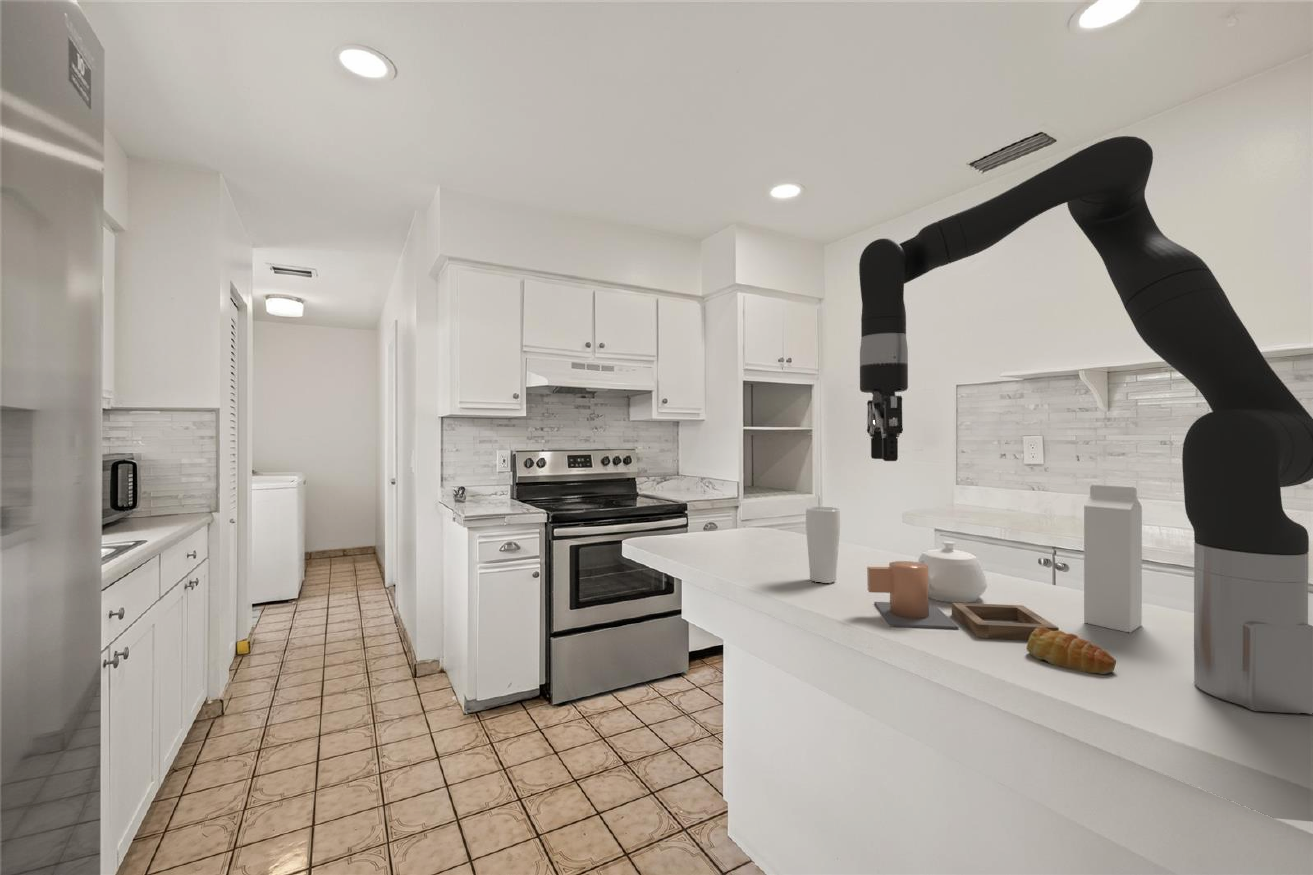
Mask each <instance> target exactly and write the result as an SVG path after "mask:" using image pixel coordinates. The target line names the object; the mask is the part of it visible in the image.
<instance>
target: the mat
mask: <svg viewBox="0 0 1313 875" xmlns="http://www.w3.org/2000/svg"><path fill="white" fill-rule="evenodd" d="M874 605H875V607H876V606H877V607H876V609H877V610H878V611H879V610H880V611H879V612H880V613H881V615H882V614H883V615H882V616H883V618H884V619H885V618H886V619H885V620H886V621H888V622H887V623H888V624H889V625H891V626H890V627H895V626H896V627H898V628H899V627H901V628H917V627H919V628H920V629H923V628H924V629H940V630H941V629H944V630H959V629H960V628H959V627H960V626H958V625H957V623H955V622H954V621H953V620H952V619H951V618H950V617H948V616H947V615H946V614H945V613H944V612H943V611H942V610H941V609H940V608H939V607H938V606H937V605H935V604H934V603H929V616H928V617H926V618H919V619H913V618H904V617H900V616H896V615H894V614H892V613H891V612H890V601H888V602H887V601H874ZM896 627H895V628H896ZM919 628H918V629H919Z"/></svg>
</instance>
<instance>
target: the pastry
mask: <svg viewBox="0 0 1313 875" xmlns="http://www.w3.org/2000/svg"><path fill="white" fill-rule="evenodd" d="M1026 651H1027V652H1028V653H1029V654H1030V655H1031V656H1033V658H1035V659H1037V660H1039V661H1041V660H1043V661H1044V660H1045V661H1047V662H1048V663H1049V664H1051V665H1055V666H1057V667H1064V668H1066V669H1069V670H1075V671H1077V672H1083V673H1088V674H1093V673H1094V674H1100V675H1105V674H1106V675H1107V674H1109V673H1111V672H1113V671H1115V666H1116V664H1117V660H1116V659H1115V658H1114V657H1113V656H1112V655H1111V654H1110V653H1109V652H1107V651H1105V650H1104V649H1102V648H1101V647H1099V646H1097V645H1095V644H1092V643H1091V641H1087V640H1085V639H1083V638H1080V637H1078V635H1076V634H1073V633H1066V632H1064V631H1062V630H1060V629H1059V630H1058V631H1051V630H1049V629H1048V628H1045V627H1037V628H1035V630H1034V631H1033V632H1032V633H1031V635H1030V637H1029V640H1027V644H1026Z"/></svg>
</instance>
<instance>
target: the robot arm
mask: <svg viewBox="0 0 1313 875" xmlns="http://www.w3.org/2000/svg"><path fill="white" fill-rule="evenodd" d="M1153 160H1154V152H1153V149H1152V147H1151V145H1150V144H1149V143H1148V142H1147V141H1146V140H1144V139H1142V138H1141V137H1137V136H1132V135H1117V136H1113V137H1107V138H1104V139H1102V140H1100V141H1097V142H1095V143H1092V144H1091V145H1089V146H1087V147H1085V148H1082V149H1081V150H1078V151H1077V152H1075V153H1073V154H1072V155H1069V156H1067V157H1066V158H1064V159H1062V160H1061V161H1059V162H1057V163H1055V164H1054V165H1052V166H1049V167H1048V168H1047V169H1044V170H1043V171H1041V172H1039V173H1037V174H1035V175H1033V176H1032V177H1030V178H1028V179H1026V180H1025V181H1022V182H1021V183H1019V184H1017V185H1015V186H1014V187H1012V188H1009V189H1008V190H1006V191H1004V192H1002V193H1000V194H998V195H997V196H994V197H992V198H989V199H988V200H986V201H984V202H981V203H979V204H977V205H974V206H972V207H970V208H968V209H965V210H963V211H960V212H957V213H955V214H953V215H949V216H947V217H944V218H942V219H939V220H937V221H935V222H933V223H930V224H928V225H926V226H924V227H922V228H921V229H920V230H919V232H918V233H917V234H916V235H915V236H913V237H911V238H910V239H907V240H905V241H903V242H901V243H898V242H897V241H895V240H893V239H891V238H879V239H876V240H873V241H872V242H870V243H869V244H868V245H867V246H865V248H864V249H863V250H862V253H861V255H860V258H859V262H858V263H859V264H858V268H859V270H858V271H859V272H858V274H859V286H860V287H859V288H860V296H861V304H862V305H861V318H860V321H861V323H860V324H861V325H860V326H861V329H860V330H861V332H860V333H861V336H860V337H861V338H860V346H859V390H860V392H862V393H867V394H869V393H870V394H872V398H871V400H870V399H868V400H867V403H866V404H867V418H866V419H867V421H866V422H867V423H866V424H867V428H866V432H867V434H868V436H869V437H870V456H871V459H873V460H883V461H885V462H897V460H898V459H899V454H898V452H899V450H898V448H899V447H898V446H899V445H898V443H899V440H898V439H899V438H900V435H901V434H902V433H903V431H904V427H903V396H902V395H896V393H900V392H901V393H903V392H906V391H907V390H908V388H909V377H908V376H909V363H908V362H909V352H908V351H909V348H908V347H909V346H908V340H907V316H906V315H907V312H906V306H905V305H906V304H905V300H904V299H905V298H904V295H905V294H904V293H905V292H904V291H905V284H907V283H910V282H912V281H913V280H916V279H917V278H919V277H921V276H923V275H926V274H927V273H929V272H930V271H933V270H935V269H938V268H939V267H943V266H947V265H949V264H952V263H955V262H957V261H960V260H963V259H965V258H966V259H967V258H969V257H972V256H974V255H977V254H979V253H981V252H983V251H985V250H987V249H989V248H991V247H993V246H995V245H996V244H997V243H999V242H1000V241H1002V240H1003V239H1004V238H1007V237H1008V236H1009V235H1011V234H1012V233H1013V232H1015V231H1016V230H1018V229H1019V228H1021V227H1022V226H1024V225H1025V224H1026V223H1028V222H1030V221H1031V220H1032V219H1034V218H1036V217H1038V216H1040V215H1042V214H1043V213H1045V212H1047V211H1050V210H1052V209H1053V208H1056V207H1059V206H1061V205H1062V204H1067V208H1068V212H1069V214H1070V215H1071V218H1073V220H1074V223H1076V225H1077V226H1078V227H1079V228H1080V229H1081V231H1082V232H1083V234H1084V235H1085V236H1086V238H1087V239H1088V240H1089V242H1090V243H1091V244H1092V246H1093V247H1094V249H1095V250H1096V251H1097V253H1098V254H1099V256H1100V258H1101V260H1102V263H1103V264H1104V266H1105V269H1106V271H1107V274H1108V275H1109V278H1110V280H1111V282H1112V284H1113V287H1114V288H1115V290H1116V292H1117V294H1118V296H1119V297H1120V301H1121V302H1122V305H1123V307H1124V309H1125V311H1126V313H1127V315H1128V317H1129V318H1130V320H1131V323H1132V324H1133V326H1134V328H1135V331H1136V332H1137V333H1138V335H1139V337H1140V338H1141V339H1142V341H1143V342H1144V343H1145V344H1146V345H1147V347H1149V348H1150V349H1151V350H1152V351H1153V352H1154V353H1155V354H1156V355H1157V356H1158V357H1159V358H1161V359H1162V360H1163V361H1164V362H1165V363H1167V364H1169V366H1170V367H1172V368H1173V369H1174V370H1176V371H1177V372H1178V373H1179V374H1181V375H1182V376H1184V378H1186V379H1187V380H1188V381H1189V382H1190V383H1191V384H1192V385H1193V386H1194V387H1195V388H1196V389H1197V390H1198V391H1199V393H1200V395H1202V396H1203V398H1204V400H1205V401H1206V403H1207V405H1208V407H1209V408H1210V410H1211V411H1210V412H1208V413H1206V414H1204V415H1201V417H1199V418H1198V419H1196V420H1195V421H1193V423H1192V425H1191V426H1190V427H1189V429H1188V430H1187V432H1186V435H1185V437H1184V441H1183V446H1182V457H1181V461H1182V464H1181V465H1182V478H1183V480H1182V481H1183V482H1182V483H1183V496H1184V497H1183V498H1184V499H1183V500H1184V508H1185V513H1186V517H1187V519H1188V522H1190V525H1191V526H1192V528H1193V529H1192V530H1193V535H1194V537H1193V538H1194V542H1193V547H1194V548H1193V551H1194V552H1193V553H1194V554H1193V555H1194V557H1193V559H1194V560H1193V562H1194V564H1193V565H1194V566H1193V684H1194V685H1195V686H1196V687H1197V688H1199V689H1200V690H1201V691H1203V692H1205V693H1206V694H1209V695H1211V696H1213V697H1215V698H1218V699H1221V700H1223V701H1226V702H1230V703H1232V704H1236V705H1239V706H1241V707H1245V708H1247V709H1248V710H1251V711H1254V712H1267V713H1268V712H1269V713H1270V712H1273V713H1286V714H1287V713H1289V714H1300V713H1313V625H1311V624H1309V556H1310V555H1309V552H1310V551H1309V550H1310V549H1309V548H1310V547H1309V546H1310V545H1309V544H1310V541H1309V540H1310V539H1309V533H1308V530H1307V528H1306V527H1305V526H1303V525H1302V524H1301V523H1298V522H1295V521H1293V520H1292V518H1289V516H1288V515H1287V513H1286V512H1285V511H1284V509H1283V502H1282V490H1281V488H1288V487H1295V486H1298V485H1303V484H1305V483H1308V482H1310V481H1311V480H1313V417H1312V416H1311V414H1310V413H1309V412H1308V411H1307V410H1306V408H1305V407H1304V406H1303V405H1302V404H1301V403H1300V401H1299V400H1298V399H1297V397H1296V396H1294V394H1293V393H1292V392H1291V390H1290V389H1289V388H1288V387H1287V385H1286V384H1285V383H1284V382H1283V381H1282V380H1281V378H1280V377H1279V376H1278V375H1277V374H1276V373H1275V371H1274V369H1272V367H1271V366H1270V364H1269V363H1268V362H1267V360H1266V359H1265V357H1264V356H1263V354H1262V352H1261V351H1260V349H1259V347H1258V346H1257V344H1256V343H1255V341H1254V339H1253V337H1252V336H1251V334H1250V332H1249V331H1248V329H1247V327H1246V326H1245V325H1244V323H1243V322H1242V320H1241V318H1240V317H1239V316H1238V314H1237V312H1236V311H1235V310H1234V308H1233V305H1232V304H1231V302H1230V300H1229V299H1228V296H1227V294H1226V293H1225V291H1224V289H1223V288H1222V286H1221V284H1220V283H1219V282H1218V279H1217V278H1216V277H1215V275H1214V273H1213V271H1212V269H1211V268H1209V266H1208V264H1206V262H1205V261H1204V260H1203V259H1202V258H1200V257H1199V256H1198V255H1197V254H1196V253H1194V252H1193V251H1191V250H1190V249H1187V248H1186V247H1184V246H1182V245H1180V244H1178V243H1176V242H1174V241H1172V240H1171V239H1170V238H1168V236H1166V235H1165V234H1164V233H1163V232H1162V231H1161V230H1160V228H1159V226H1158V224H1157V223H1156V222H1155V220H1154V217H1153V215H1152V213H1151V211H1150V208H1149V207H1148V203H1147V201H1146V196H1145V194H1146V188H1147V184H1148V182H1149V177H1150V174H1151V170H1152V168H1153V167H1152V166H1153V163H1154V162H1153Z"/></svg>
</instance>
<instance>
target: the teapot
mask: <svg viewBox="0 0 1313 875" xmlns="http://www.w3.org/2000/svg"><path fill="white" fill-rule="evenodd" d="M942 544H943V546H944V548H935V549H929V550H928V549H927V550H925V551H923V552H922V553H921V554H920V556H919V558H918V560H917V562H918V563H923V564H926V565H928V576H929V599H931V600H936V601H941V602H946V603H947V602H948V603H973V602H975V601H977V600H978V598H979V597H981V596H982V595H984V593H985V591H986V590H987V588H988V583H987V579H986V575H985V573H984V569H983V567H982V565H981V563H980V561H979V559H978V557H977V556H976V555H975V554H973V553H969V552H967V551H962V550H956V549H954V547H955V545H956V542H954V541H950V540H949V541H948V540H947V541H946V540H944V541H942Z"/></svg>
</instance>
